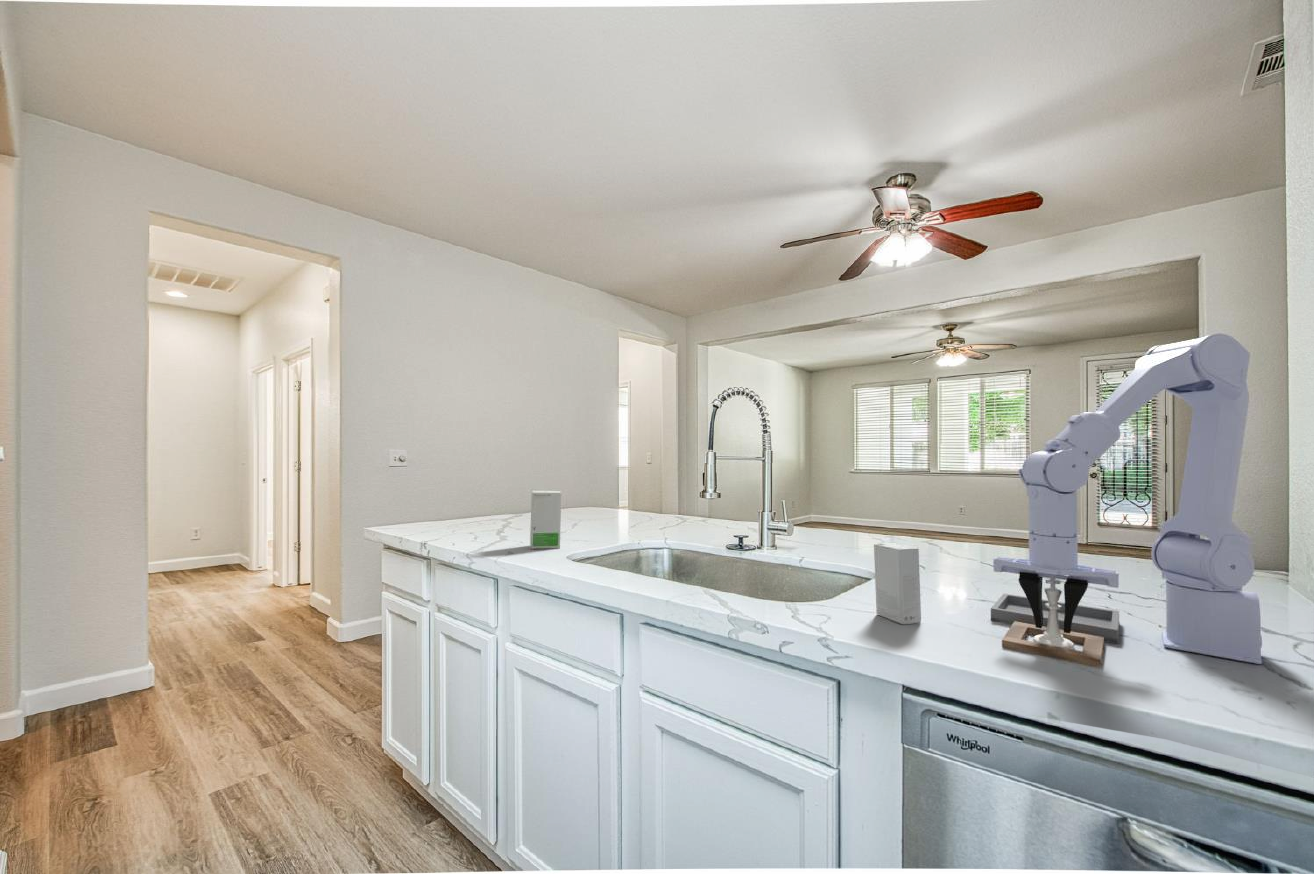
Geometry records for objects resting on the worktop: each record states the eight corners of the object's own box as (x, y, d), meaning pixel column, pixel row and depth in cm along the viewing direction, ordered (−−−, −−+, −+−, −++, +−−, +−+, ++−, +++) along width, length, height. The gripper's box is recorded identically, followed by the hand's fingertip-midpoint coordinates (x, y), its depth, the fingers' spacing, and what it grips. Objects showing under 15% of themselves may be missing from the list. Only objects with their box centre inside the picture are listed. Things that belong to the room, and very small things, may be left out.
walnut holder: (1104, 644, 80) (1103, 637, 80) (1100, 667, 72) (1100, 659, 72) (1014, 627, 87) (1014, 621, 87) (1001, 646, 79) (1001, 639, 79)
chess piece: (1082, 653, 76) (1081, 581, 76) (1042, 650, 77) (1042, 579, 77) (1063, 640, 81) (1063, 573, 81) (1026, 638, 82) (1026, 571, 82)
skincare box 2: (922, 622, 89) (922, 547, 90) (900, 625, 88) (900, 549, 88) (894, 611, 95) (893, 541, 95) (873, 614, 94) (873, 543, 94)
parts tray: (1119, 623, 89) (1119, 611, 89) (1117, 643, 80) (1117, 630, 80) (1003, 604, 100) (1003, 593, 100) (990, 620, 90) (990, 608, 90)
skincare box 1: (530, 549, 150) (530, 492, 150) (530, 545, 157) (530, 490, 157) (561, 548, 152) (561, 491, 152) (559, 544, 159) (560, 489, 159)
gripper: (989, 532, 81) (989, 624, 81) (1117, 544, 72) (1118, 648, 72) (998, 526, 87) (998, 613, 86) (1118, 537, 77) (1119, 634, 77)
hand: (1053, 628), depth 79 cm, fingers open, 3 cm apart
